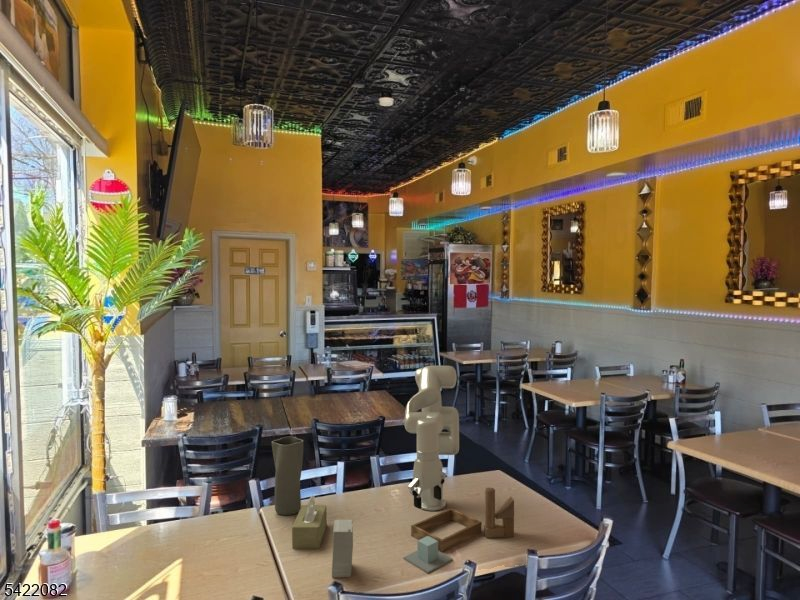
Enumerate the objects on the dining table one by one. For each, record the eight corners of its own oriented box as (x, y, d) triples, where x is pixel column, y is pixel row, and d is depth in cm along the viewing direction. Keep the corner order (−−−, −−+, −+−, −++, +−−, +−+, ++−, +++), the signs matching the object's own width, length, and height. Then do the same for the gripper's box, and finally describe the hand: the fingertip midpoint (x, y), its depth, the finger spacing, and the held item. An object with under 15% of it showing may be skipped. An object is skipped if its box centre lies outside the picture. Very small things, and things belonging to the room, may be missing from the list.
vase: (309, 511, 214) (308, 441, 213) (282, 520, 206) (281, 447, 205) (294, 502, 223) (294, 434, 222) (268, 510, 215) (267, 440, 214)
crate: (411, 535, 193) (411, 525, 193) (450, 517, 207) (450, 508, 207) (441, 552, 181) (441, 541, 181) (481, 532, 196) (481, 521, 195)
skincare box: (332, 564, 173) (332, 519, 173) (353, 563, 174) (353, 518, 173) (331, 579, 165) (330, 531, 164) (353, 577, 166) (353, 530, 165)
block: (417, 557, 176) (417, 540, 176) (427, 552, 180) (427, 535, 180) (427, 563, 173) (427, 546, 173) (438, 558, 176) (438, 541, 176)
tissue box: (319, 549, 184) (318, 506, 183) (292, 549, 184) (291, 506, 183) (326, 524, 202) (326, 485, 202) (302, 524, 203) (301, 485, 202)
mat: (403, 558, 177) (403, 557, 177) (427, 546, 185) (427, 545, 185) (427, 573, 168) (427, 571, 168) (452, 560, 176) (452, 558, 176)
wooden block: (514, 536, 192) (514, 489, 191) (486, 538, 191) (486, 491, 190) (511, 532, 195) (511, 486, 195) (483, 533, 194) (483, 487, 194)
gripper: (437, 445, 184) (437, 492, 185) (401, 457, 172) (401, 507, 173) (452, 451, 178) (452, 499, 179) (416, 464, 167) (417, 515, 168)
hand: (427, 503), depth 176 cm, fingers open, 9 cm apart
